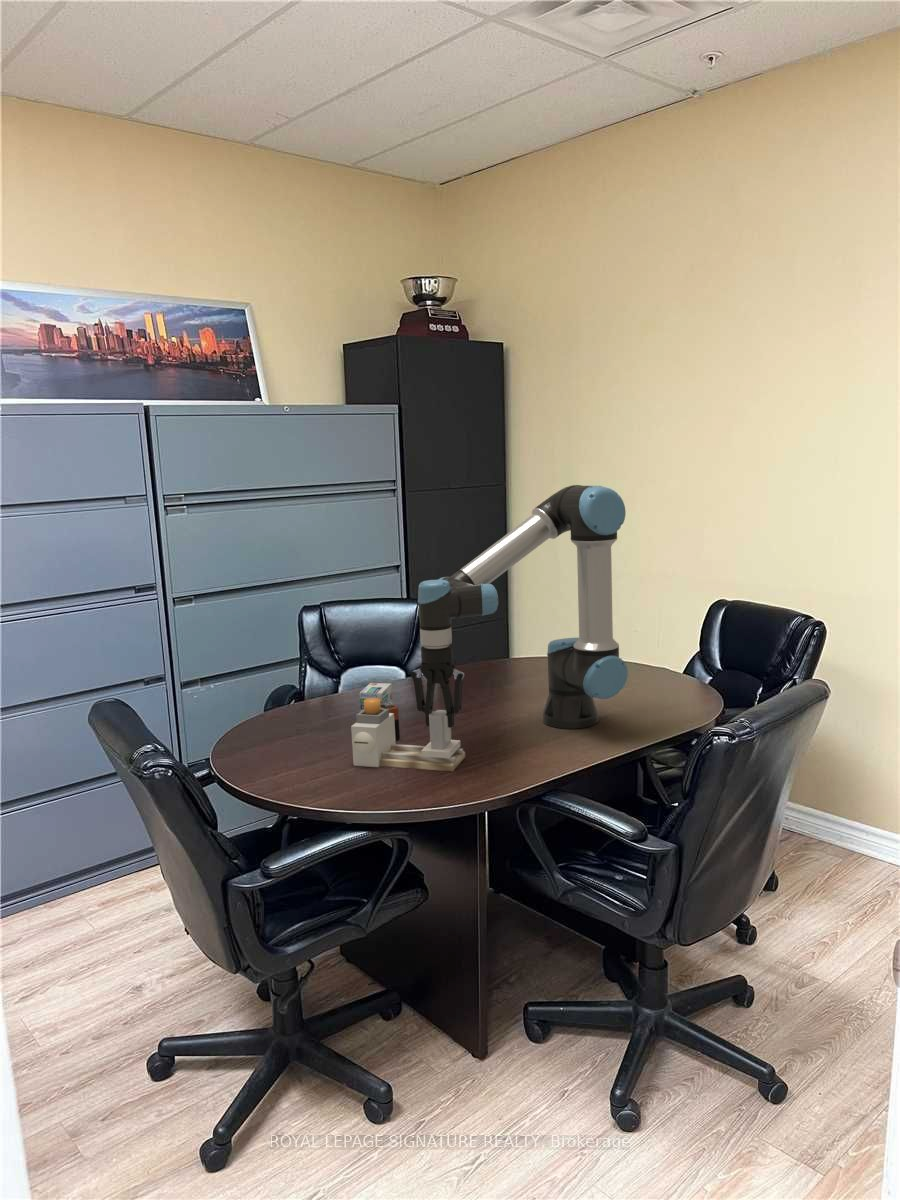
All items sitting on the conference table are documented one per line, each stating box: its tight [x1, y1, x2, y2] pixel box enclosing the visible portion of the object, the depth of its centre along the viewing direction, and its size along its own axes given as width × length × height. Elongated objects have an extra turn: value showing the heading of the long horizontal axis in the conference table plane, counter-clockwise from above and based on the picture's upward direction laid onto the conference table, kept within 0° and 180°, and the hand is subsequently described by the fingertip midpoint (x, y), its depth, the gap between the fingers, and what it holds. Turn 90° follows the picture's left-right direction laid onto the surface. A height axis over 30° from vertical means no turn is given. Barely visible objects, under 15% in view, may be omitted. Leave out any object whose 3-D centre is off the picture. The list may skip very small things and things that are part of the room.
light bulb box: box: [359, 682, 394, 712], centre depth 255 cm, size 11×7×11 cm, turn 168°
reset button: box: [364, 698, 381, 714], centre depth 226 cm, size 4×4×3 cm
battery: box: [380, 701, 401, 741], centre depth 243 cm, size 4×7×10 cm, turn 39°
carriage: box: [421, 709, 462, 758], centre depth 222 cm, size 7×9×10 cm
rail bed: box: [380, 743, 466, 772], centre depth 224 cm, size 18×10×3 cm, turn 72°
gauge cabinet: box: [350, 709, 397, 768], centre depth 227 cm, size 6×13×12 cm, turn 162°
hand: (440, 739), depth 222 cm, fingers closed on carriage, 3 cm apart
